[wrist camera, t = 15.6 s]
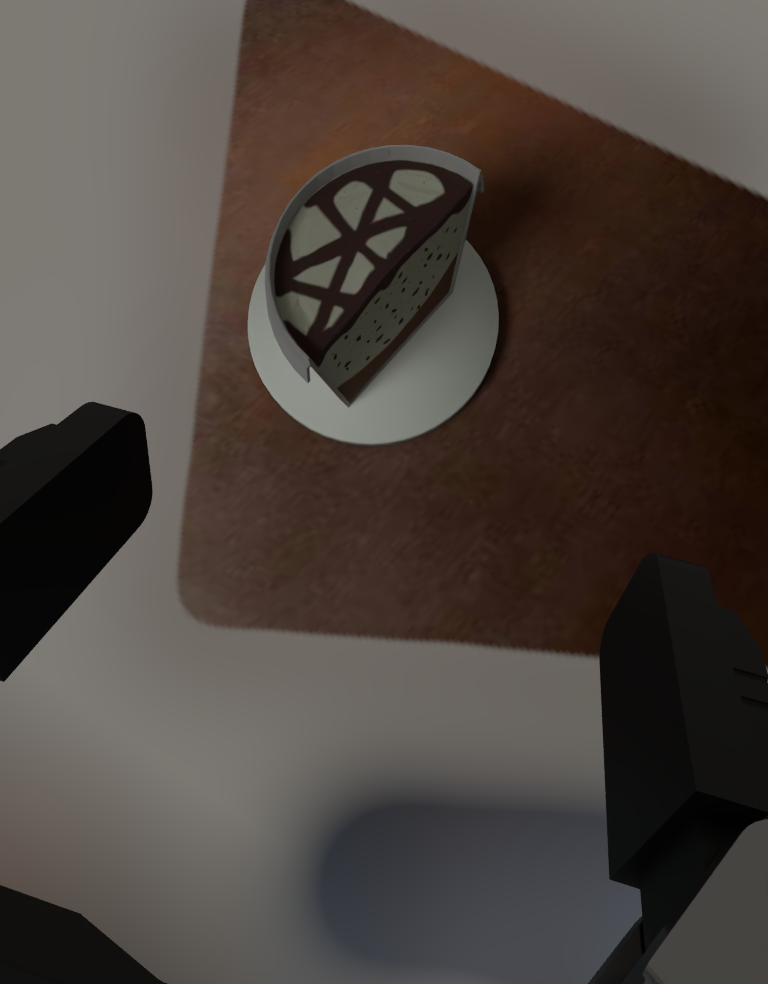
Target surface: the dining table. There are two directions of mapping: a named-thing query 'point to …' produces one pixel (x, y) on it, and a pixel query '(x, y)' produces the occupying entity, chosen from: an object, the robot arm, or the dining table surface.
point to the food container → (367, 260)
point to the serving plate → (393, 368)
